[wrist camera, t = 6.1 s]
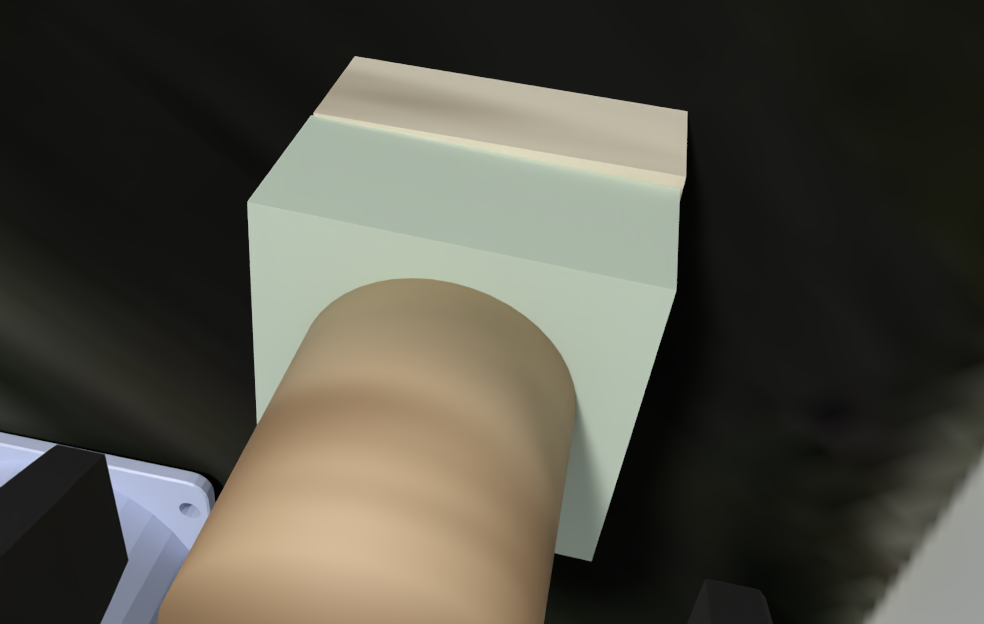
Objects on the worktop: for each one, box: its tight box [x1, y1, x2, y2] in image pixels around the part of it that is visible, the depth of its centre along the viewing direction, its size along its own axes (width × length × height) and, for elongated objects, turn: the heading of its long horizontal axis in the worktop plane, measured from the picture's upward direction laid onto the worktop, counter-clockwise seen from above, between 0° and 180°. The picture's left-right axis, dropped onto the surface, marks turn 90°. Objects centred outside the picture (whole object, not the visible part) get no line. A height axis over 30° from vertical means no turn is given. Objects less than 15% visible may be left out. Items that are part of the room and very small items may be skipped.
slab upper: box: [247, 115, 680, 561], centre depth 14 cm, size 6×6×2 cm
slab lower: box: [314, 56, 688, 199], centre depth 16 cm, size 6×6×2 cm
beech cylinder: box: [157, 278, 576, 624], centre depth 12 cm, size 4×4×4 cm
